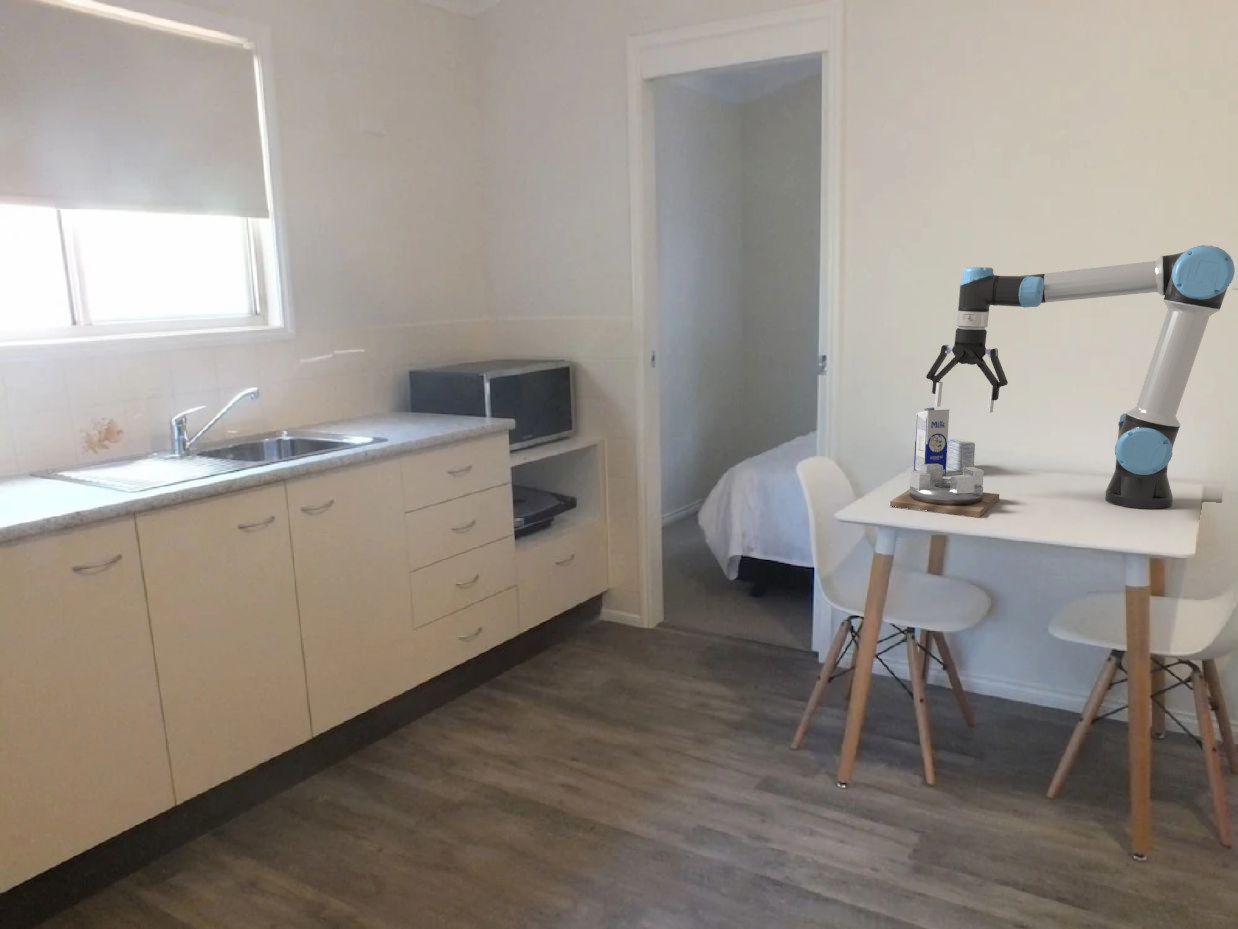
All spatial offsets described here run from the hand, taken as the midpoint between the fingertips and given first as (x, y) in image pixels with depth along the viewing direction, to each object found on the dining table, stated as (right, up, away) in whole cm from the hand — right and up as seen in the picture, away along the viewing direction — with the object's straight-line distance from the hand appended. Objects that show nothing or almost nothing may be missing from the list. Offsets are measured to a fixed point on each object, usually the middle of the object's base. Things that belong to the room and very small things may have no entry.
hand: (963, 409), depth 244 cm
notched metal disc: (-5, -23, -2) cm, 24 cm away
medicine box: (+14, -16, +41) cm, 46 cm away
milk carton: (+3, -17, +35) cm, 39 cm away
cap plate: (-5, -25, -2) cm, 25 cm away
